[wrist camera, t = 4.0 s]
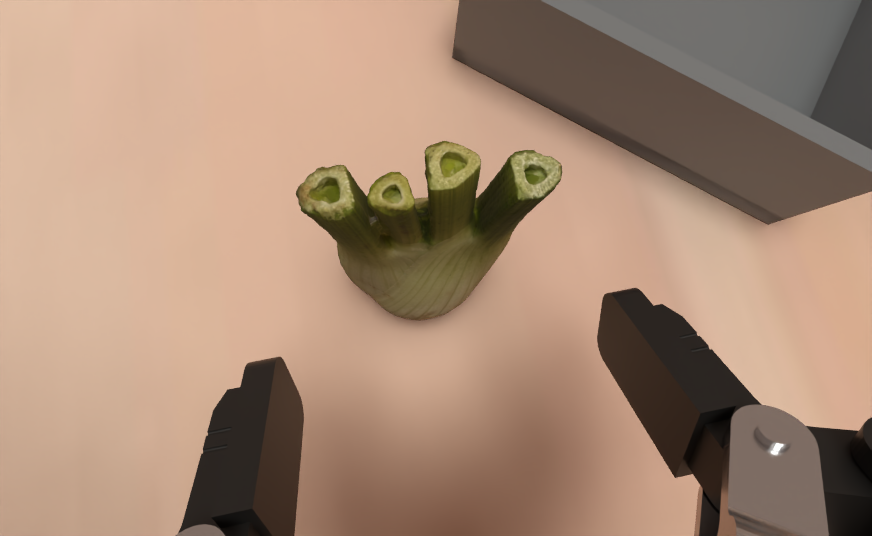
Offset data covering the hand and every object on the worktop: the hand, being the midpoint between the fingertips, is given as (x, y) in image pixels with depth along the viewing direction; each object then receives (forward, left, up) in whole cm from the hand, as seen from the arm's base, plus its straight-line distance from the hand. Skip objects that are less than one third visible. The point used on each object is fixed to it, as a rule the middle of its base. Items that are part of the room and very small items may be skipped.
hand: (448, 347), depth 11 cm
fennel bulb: (-2, +3, -10) cm, 10 cm away
